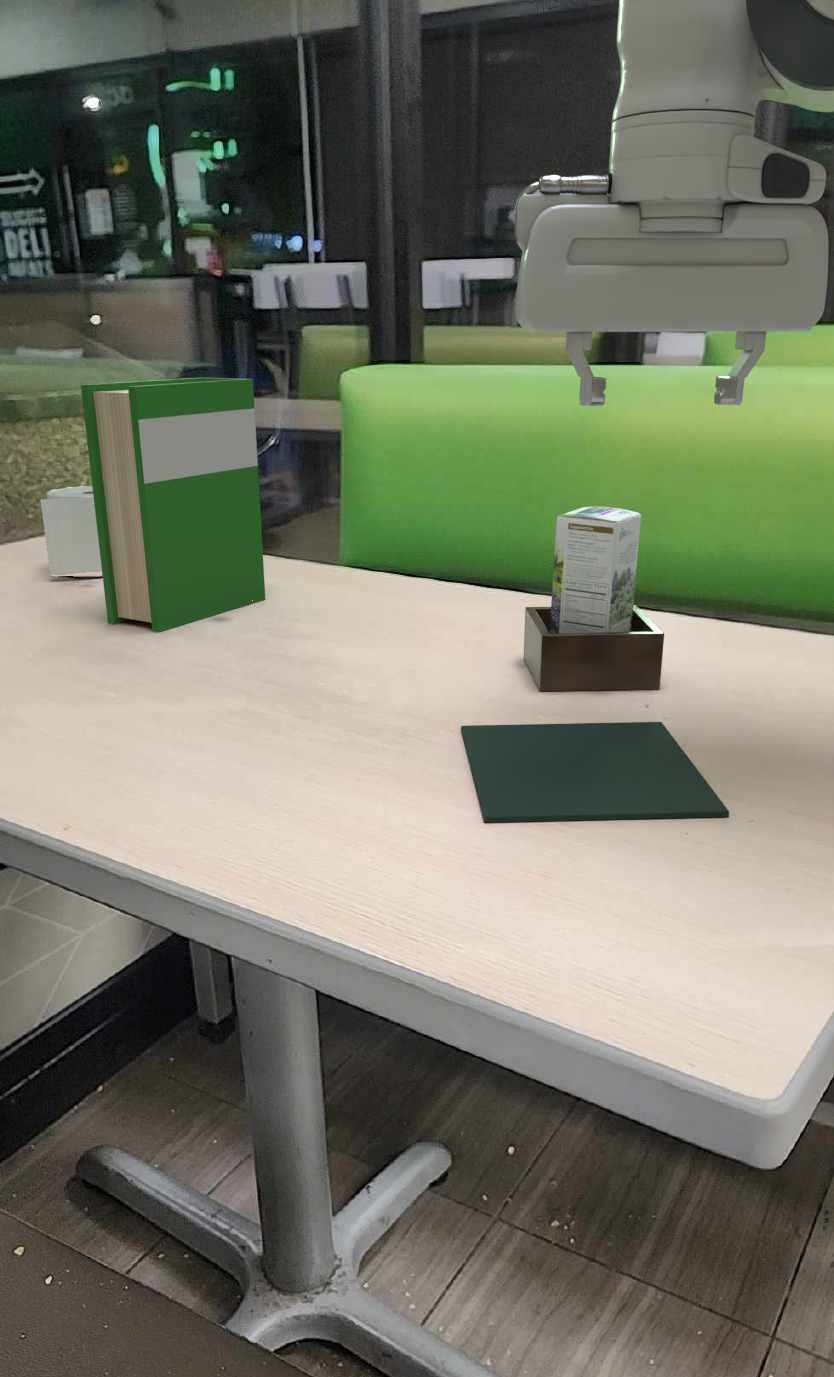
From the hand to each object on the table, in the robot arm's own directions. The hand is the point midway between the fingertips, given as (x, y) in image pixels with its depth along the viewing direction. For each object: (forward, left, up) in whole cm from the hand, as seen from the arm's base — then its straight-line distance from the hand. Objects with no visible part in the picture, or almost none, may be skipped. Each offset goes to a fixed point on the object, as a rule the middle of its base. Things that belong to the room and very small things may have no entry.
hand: (659, 405), depth 78 cm
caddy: (0, -18, -24) cm, 30 cm away
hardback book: (+40, -45, -24) cm, 65 cm away
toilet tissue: (+55, -68, -24) cm, 91 cm away
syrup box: (0, -18, -24) cm, 30 cm away
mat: (+5, +6, -24) cm, 26 cm away
